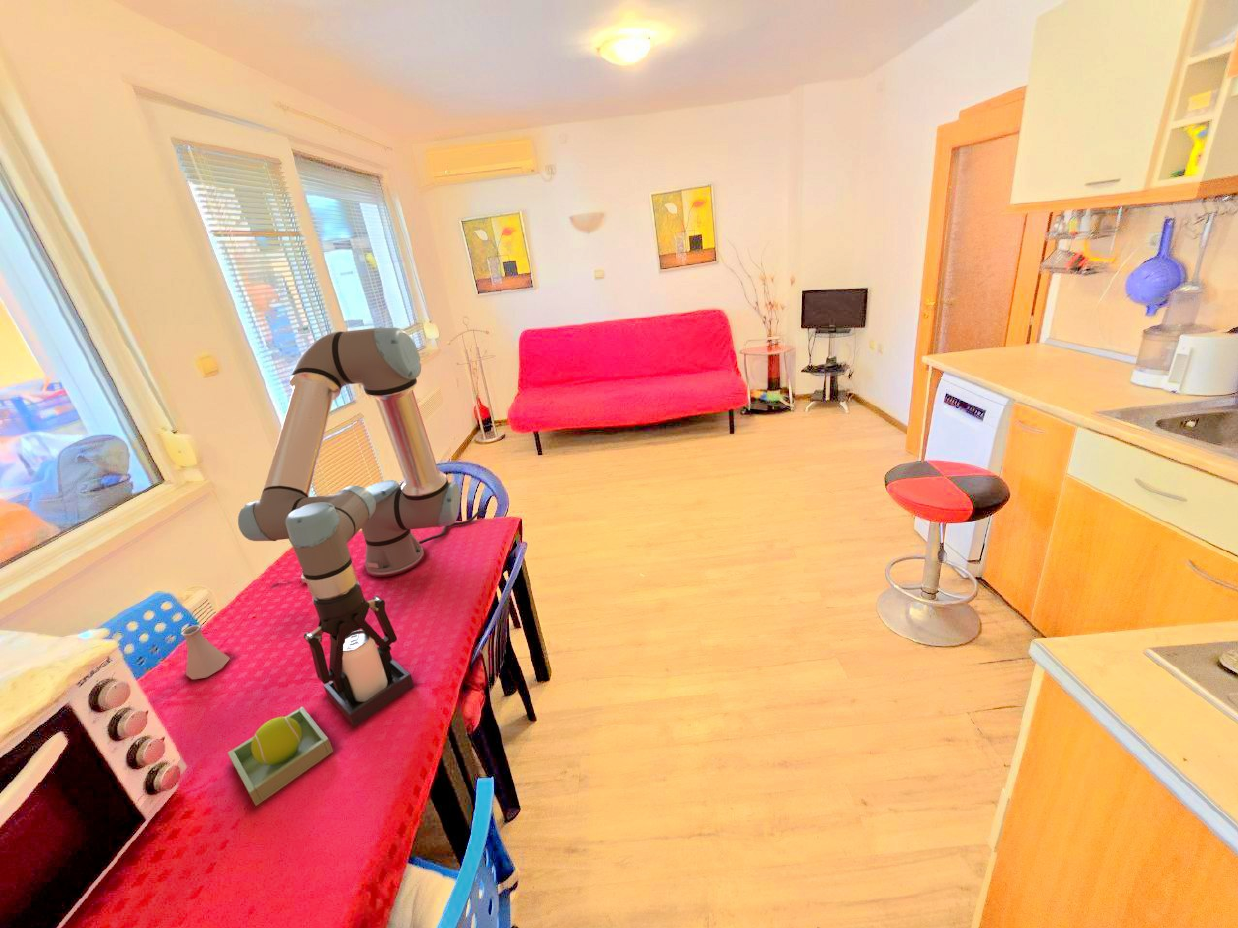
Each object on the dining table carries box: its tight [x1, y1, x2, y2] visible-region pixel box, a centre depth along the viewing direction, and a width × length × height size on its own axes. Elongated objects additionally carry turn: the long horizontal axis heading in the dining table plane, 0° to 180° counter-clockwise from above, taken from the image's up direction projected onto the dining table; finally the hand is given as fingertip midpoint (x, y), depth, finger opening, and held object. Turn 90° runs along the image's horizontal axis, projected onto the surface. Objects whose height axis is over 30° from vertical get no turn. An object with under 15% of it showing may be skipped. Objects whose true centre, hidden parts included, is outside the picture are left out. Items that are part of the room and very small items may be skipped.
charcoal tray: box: [323, 658, 415, 728], centre depth 97 cm, size 12×12×3 cm
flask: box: [180, 624, 231, 680], centre depth 106 cm, size 7×7×10 cm
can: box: [342, 629, 388, 702], centre depth 95 cm, size 6×6×12 cm
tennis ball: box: [251, 716, 302, 765], centre depth 84 cm, size 7×7×7 cm
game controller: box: [274, 572, 307, 586], centre depth 136 cm, size 6×12×3 cm, turn 121°
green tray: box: [227, 706, 334, 807], centre depth 84 cm, size 12×12×3 cm
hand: (369, 688), depth 97 cm, fingers closed on can, 6 cm apart
